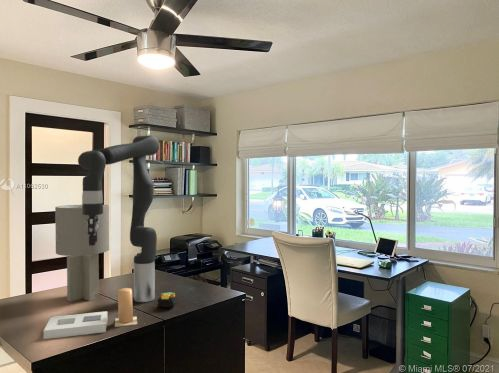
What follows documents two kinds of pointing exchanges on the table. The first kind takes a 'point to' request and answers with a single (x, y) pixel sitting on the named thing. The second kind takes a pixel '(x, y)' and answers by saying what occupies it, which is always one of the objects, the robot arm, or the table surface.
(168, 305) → the pot of gold
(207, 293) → the table surface
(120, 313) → the plug
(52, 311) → the table surface
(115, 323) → the pad
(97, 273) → the lamp
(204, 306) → the table surface
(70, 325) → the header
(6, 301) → the table surface
